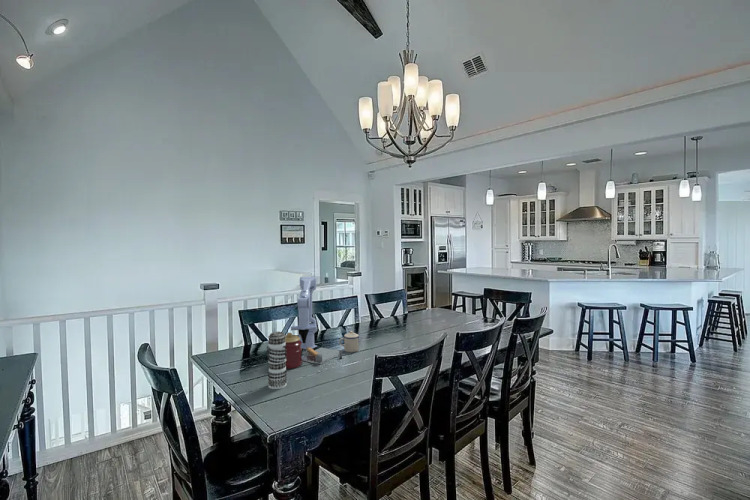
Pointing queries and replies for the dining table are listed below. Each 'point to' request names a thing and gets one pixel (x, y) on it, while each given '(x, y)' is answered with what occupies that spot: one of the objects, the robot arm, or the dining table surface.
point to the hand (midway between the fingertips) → (304, 342)
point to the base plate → (326, 355)
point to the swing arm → (315, 354)
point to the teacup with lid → (350, 342)
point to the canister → (293, 351)
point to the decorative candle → (277, 360)
